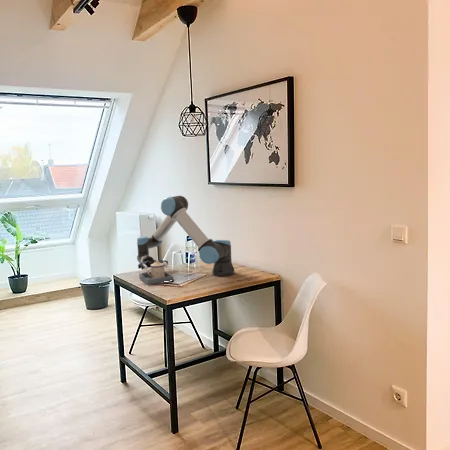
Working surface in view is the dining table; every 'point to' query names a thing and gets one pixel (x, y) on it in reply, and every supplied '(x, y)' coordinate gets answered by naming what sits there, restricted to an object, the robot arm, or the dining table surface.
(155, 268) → the teacup with lid
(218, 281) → the dining table surface
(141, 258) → the robot arm
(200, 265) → the dining table surface
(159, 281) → the grey tray
